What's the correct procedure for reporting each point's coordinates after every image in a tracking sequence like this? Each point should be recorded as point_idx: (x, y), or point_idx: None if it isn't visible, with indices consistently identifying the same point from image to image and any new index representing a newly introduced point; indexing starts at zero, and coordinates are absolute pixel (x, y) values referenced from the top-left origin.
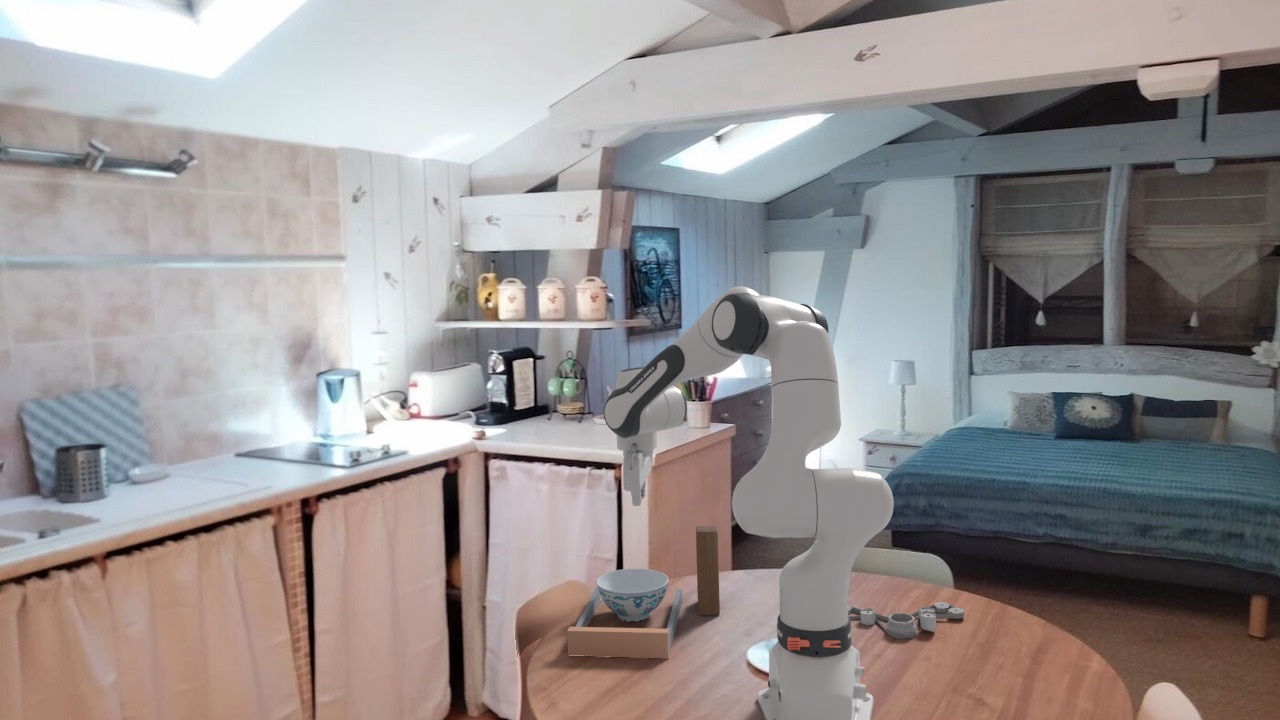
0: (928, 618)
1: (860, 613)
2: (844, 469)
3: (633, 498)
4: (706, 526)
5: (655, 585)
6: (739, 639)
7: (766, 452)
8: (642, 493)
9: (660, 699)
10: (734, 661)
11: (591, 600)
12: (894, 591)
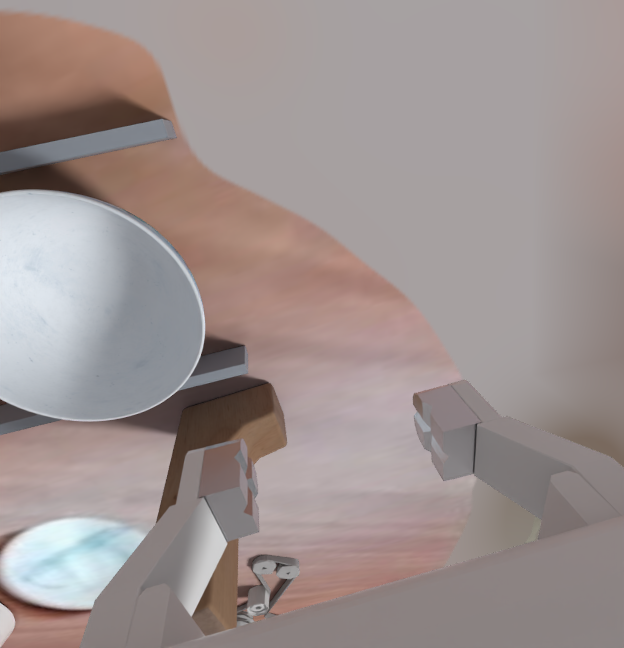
0: None
1: (254, 601)
2: None
3: (182, 505)
4: (215, 629)
5: (187, 339)
6: (104, 496)
7: None
8: (433, 454)
9: None
10: (4, 518)
11: (35, 155)
12: (385, 583)
